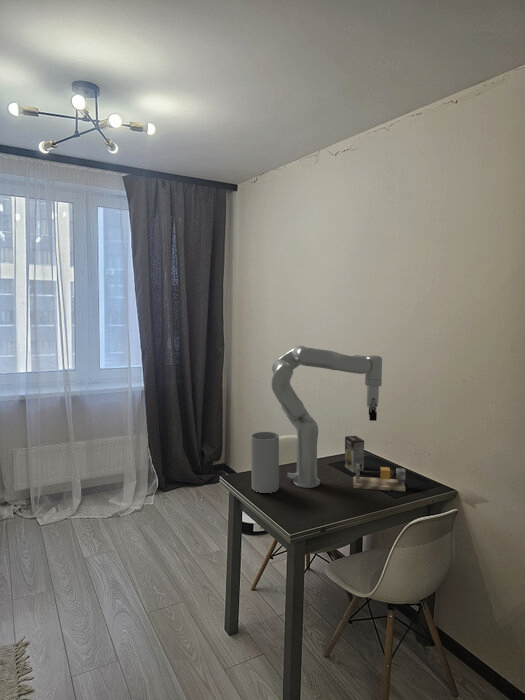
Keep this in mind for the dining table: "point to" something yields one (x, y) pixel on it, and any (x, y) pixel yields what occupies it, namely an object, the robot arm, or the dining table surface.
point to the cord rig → (380, 480)
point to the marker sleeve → (385, 473)
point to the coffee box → (354, 453)
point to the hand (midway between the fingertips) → (372, 417)
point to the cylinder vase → (265, 462)
